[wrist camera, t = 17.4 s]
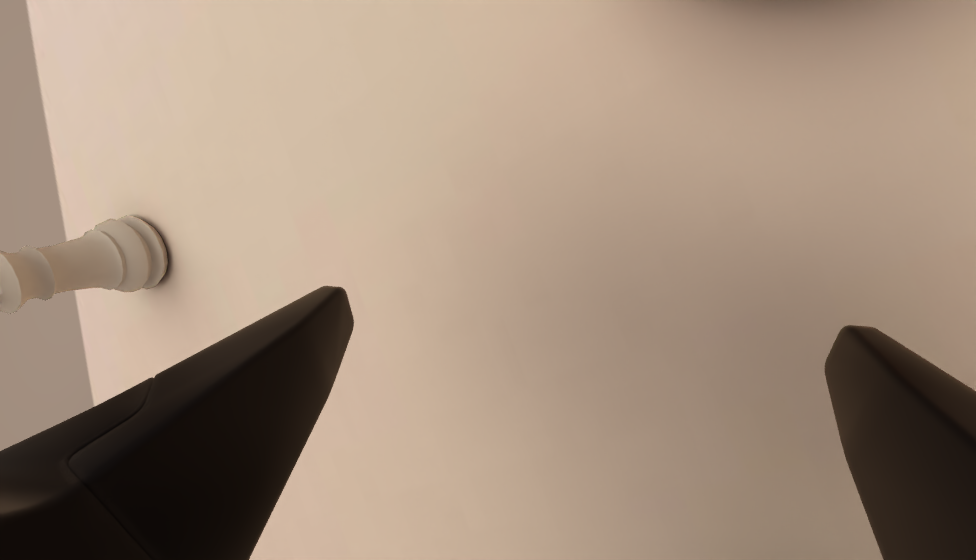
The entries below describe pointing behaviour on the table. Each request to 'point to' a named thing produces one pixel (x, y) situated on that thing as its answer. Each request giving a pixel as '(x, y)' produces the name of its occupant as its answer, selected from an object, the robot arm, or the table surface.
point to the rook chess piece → (85, 263)
